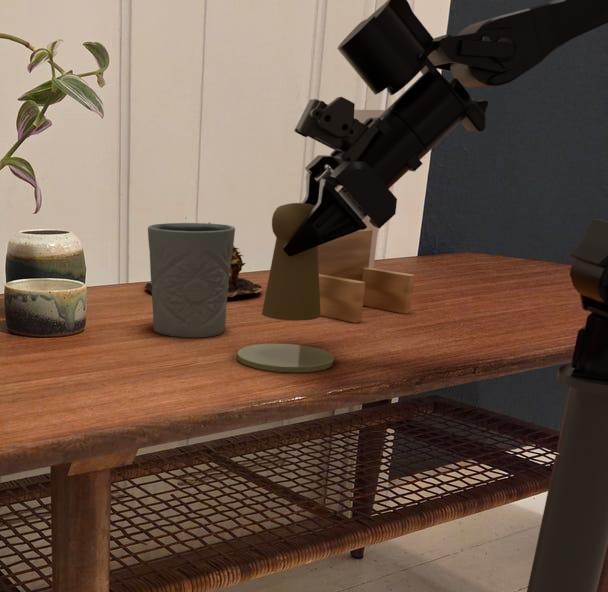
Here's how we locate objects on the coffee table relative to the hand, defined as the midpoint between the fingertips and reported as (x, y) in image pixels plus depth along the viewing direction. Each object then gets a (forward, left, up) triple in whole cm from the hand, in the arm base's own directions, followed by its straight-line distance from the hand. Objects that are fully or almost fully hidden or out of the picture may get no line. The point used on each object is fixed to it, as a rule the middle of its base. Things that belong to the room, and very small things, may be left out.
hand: (282, 249), depth 89 cm
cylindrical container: (+11, -44, -11) cm, 47 cm away
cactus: (+27, -29, -11) cm, 41 cm away
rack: (+3, -30, -11) cm, 32 cm away
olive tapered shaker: (-1, -1, -7) cm, 7 cm away
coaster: (-1, 0, -11) cm, 11 cm away
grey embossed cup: (+15, -6, -11) cm, 20 cm away
